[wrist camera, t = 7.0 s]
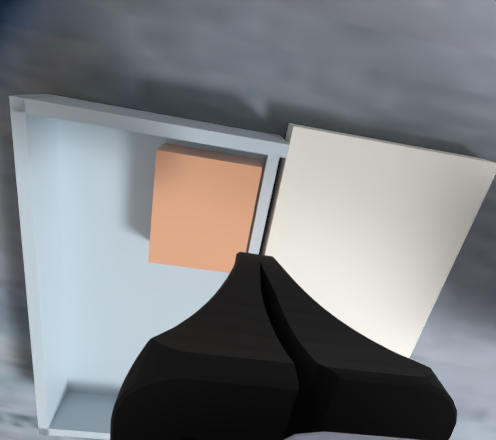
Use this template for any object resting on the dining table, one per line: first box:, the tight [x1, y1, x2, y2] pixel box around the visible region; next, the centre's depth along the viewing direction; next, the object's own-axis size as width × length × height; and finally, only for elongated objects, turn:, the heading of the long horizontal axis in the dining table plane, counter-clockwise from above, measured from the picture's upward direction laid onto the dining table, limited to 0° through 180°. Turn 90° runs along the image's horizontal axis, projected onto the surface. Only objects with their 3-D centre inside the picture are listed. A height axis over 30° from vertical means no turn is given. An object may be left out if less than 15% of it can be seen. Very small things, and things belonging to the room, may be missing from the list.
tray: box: [9, 94, 289, 440], centre depth 19 cm, size 12×21×3 cm, turn 170°
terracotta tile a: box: [148, 143, 262, 273], centre depth 17 cm, size 5×6×2 cm
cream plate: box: [260, 123, 496, 358], centre depth 21 cm, size 11×22×2 cm, turn 170°
